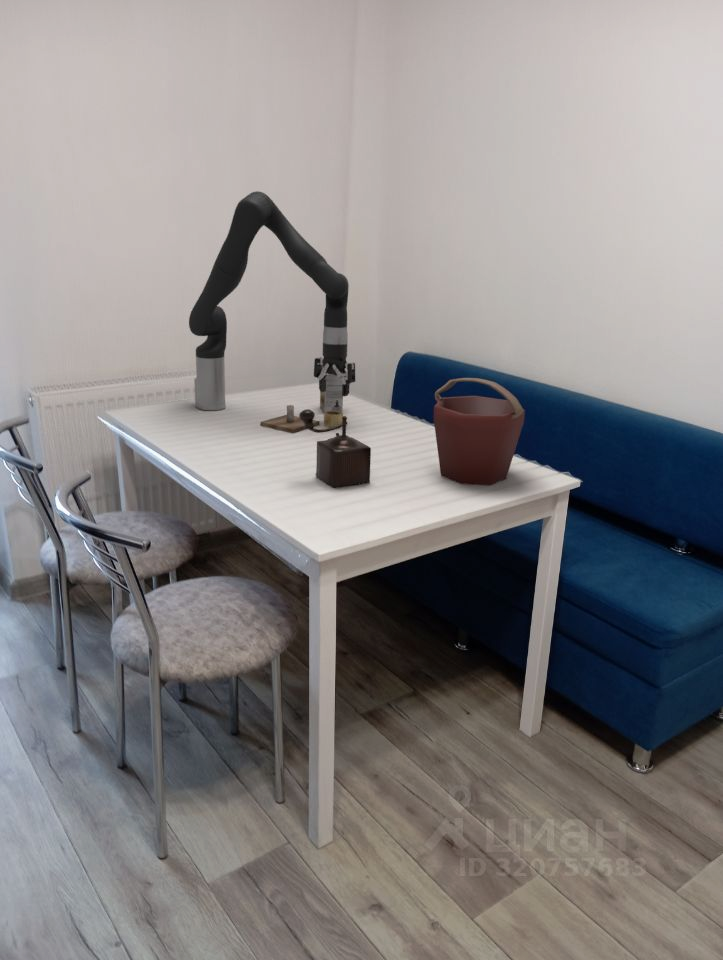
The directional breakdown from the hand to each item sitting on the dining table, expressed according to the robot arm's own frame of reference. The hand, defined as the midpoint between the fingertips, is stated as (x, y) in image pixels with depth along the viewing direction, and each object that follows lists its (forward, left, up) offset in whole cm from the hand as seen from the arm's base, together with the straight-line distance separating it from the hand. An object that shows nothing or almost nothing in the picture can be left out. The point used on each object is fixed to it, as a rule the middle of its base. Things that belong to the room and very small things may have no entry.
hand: (333, 393), depth 248 cm
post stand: (-10, -9, -10) cm, 17 cm away
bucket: (+57, -15, -10) cm, 60 cm away
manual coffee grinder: (+32, -43, -10) cm, 55 cm away
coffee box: (-12, +15, -10) cm, 22 cm away
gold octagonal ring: (0, 0, -10) cm, 10 cm away
